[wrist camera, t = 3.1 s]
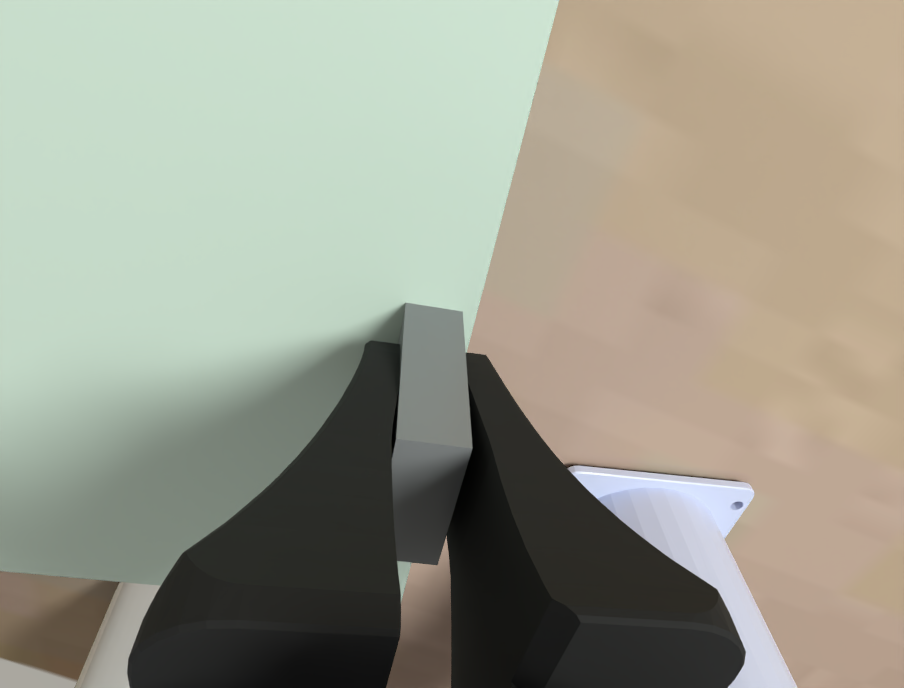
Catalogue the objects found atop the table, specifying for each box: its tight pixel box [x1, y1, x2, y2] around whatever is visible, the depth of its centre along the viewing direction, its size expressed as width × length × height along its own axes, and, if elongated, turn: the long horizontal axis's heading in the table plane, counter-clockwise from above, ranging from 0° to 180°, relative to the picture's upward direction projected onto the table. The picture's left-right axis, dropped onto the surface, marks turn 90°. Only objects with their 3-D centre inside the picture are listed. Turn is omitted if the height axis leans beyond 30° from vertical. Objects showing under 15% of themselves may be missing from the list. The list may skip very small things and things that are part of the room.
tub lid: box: [0, 0, 559, 601], centre depth 12 cm, size 19×12×5 cm, turn 168°
